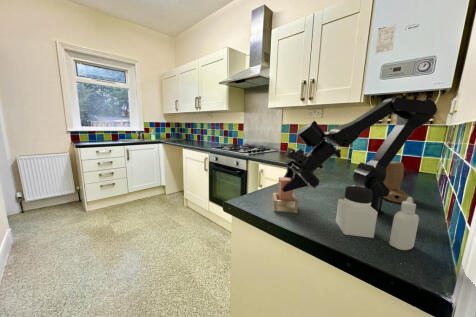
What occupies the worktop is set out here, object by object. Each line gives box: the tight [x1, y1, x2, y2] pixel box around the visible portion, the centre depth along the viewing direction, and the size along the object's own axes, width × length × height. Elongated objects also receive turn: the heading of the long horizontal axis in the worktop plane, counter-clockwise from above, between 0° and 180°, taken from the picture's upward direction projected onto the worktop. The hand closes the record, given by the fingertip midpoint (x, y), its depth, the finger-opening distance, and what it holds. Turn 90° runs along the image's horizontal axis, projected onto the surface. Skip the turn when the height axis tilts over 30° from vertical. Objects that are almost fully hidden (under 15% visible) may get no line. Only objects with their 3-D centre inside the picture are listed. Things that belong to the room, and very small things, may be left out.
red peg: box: [277, 176, 294, 201], centre depth 64 cm, size 4×4×10 cm
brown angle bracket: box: [383, 161, 415, 204], centre depth 77 cm, size 15×12×15 cm
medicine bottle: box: [335, 184, 379, 239], centre depth 51 cm, size 7×7×12 cm
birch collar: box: [271, 192, 299, 214], centre depth 65 cm, size 8×8×4 cm
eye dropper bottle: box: [389, 196, 420, 251], centre depth 44 cm, size 4×6×12 cm
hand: (281, 188), depth 64 cm, fingers open, 5 cm apart
